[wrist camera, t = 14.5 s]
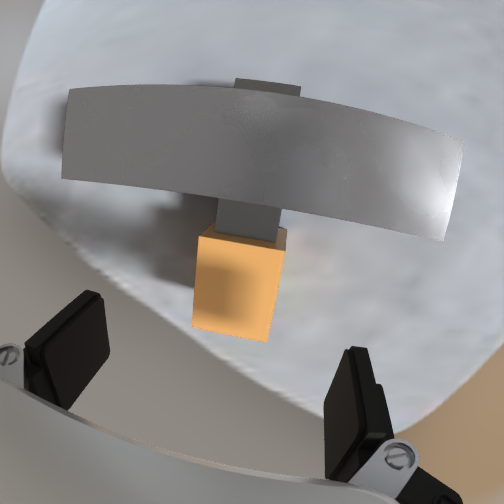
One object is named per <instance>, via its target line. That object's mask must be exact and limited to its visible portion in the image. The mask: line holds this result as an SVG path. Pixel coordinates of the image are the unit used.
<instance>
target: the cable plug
mask: <svg viewBox="0 0 504 504" xmlns="http://www.w3.org/2000/svg"><path fill="white" fill-rule="evenodd" d="M234 88H237V89H247V90H256V91H264V92H272V93H279V94H286V95H292V96H298V97H300V91H301V86H295V85H288V84H282V83H274V82H267V81H258V80H249V79H239V78H236V80H235V86H234ZM281 210H282V208H277V207H271V206H265V205H259V204H253V203H247V202H241V201H234V200H228V199H222V198H219V199H218V207H217V215H216V220H215V221H214V222H213V223H212V224H211V225H210V226H209V227H208V228H207V229H206V230H205V231H204V232H203V233H202V234H201V235H200V236H199V241H198V252H197V263H196V275H195V288H194V301H193V316H192V327H194V328H198V329H203V330H207V331H212V332H217V333H221V334H226V335H231V336H236V337H241V338H246V339H251V340H257V341H262V342H267V340H268V336H269V331H270V326H271V321H272V316H273V312H274V307H275V302H276V297H277V292H278V287H279V282H280V277H281V271H282V266H283V261H284V256H285V249H286V237H287V229H283V228H278V227H279V222H280V216H281Z"/></svg>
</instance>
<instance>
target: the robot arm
mask: <svg viewBox="0 0 504 504" xmlns="http://www.w3.org/2000/svg"><path fill="white" fill-rule="evenodd" d="M25 346H26V347H25V348H24V349H22V348H21V347H20V346H19V345H16V344H12V343H9V344H4V345H1V346H0V504H463V502H462V499H461V497H460V496H459V494H458V493H456V492H455V491H454V490H452V489H450V488H449V487H448V486H446V485H445V484H443V483H442V482H440V481H439V480H437V479H436V478H434V477H433V476H431V475H430V474H428V473H427V472H426V471H424V470H423V469H421V468H420V467H418V464H419V453H418V451H417V450H416V448H415V447H414V446H413V445H412V444H411V443H409V442H407V441H405V440H402V439H395V438H394V434H393V429H392V424H391V420H390V416H389V411H388V407H387V403H386V399H385V395H384V391H383V387H382V385H381V384H376V382H375V378H374V373H373V369H372V365H371V361H370V358H369V354H368V350H367V348H363V347H356V346H351V348H350V349H349V350H348V349H346V350H345V351H344V353H343V356H342V359H341V361H340V364H339V366H338V369H337V371H336V374H335V376H334V379H333V381H332V384H331V386H330V388H329V391H328V393H327V395H326V398H325V401H324V437H325V439H324V440H325V478H326V479H330V480H323V479H315V478H306V477H297V476H288V475H282V474H274V473H269V472H262V471H256V470H250V469H245V468H239V467H234V466H229V465H224V464H220V463H216V462H211V461H207V460H203V459H199V458H195V457H191V456H188V455H184V454H180V453H177V452H173V451H170V450H167V449H164V448H160V447H157V446H154V445H151V444H148V443H145V442H142V441H139V440H136V439H134V438H131V437H128V436H125V435H122V434H120V433H117V432H115V431H112V430H110V429H107V428H105V427H102V426H100V425H98V424H95V423H93V422H91V421H88V420H86V419H84V418H82V417H79V416H77V415H75V414H73V413H71V412H68V409H70V407H71V406H72V405H73V403H74V402H75V401H76V399H77V398H78V397H79V395H80V394H81V392H82V391H83V390H84V389H85V387H86V386H87V385H88V383H89V382H90V380H91V379H92V378H93V377H94V376H95V374H96V373H97V372H98V370H99V369H100V368H101V366H102V365H103V364H104V363H105V361H106V360H107V359H108V357H109V354H110V346H109V339H108V333H107V324H106V316H105V307H104V300H103V298H101V295H100V294H99V293H96V292H93V291H90V290H85V291H84V292H83V293H82V294H80V295H79V296H78V297H77V298H75V299H74V300H73V301H72V302H71V303H69V304H68V305H67V306H66V307H65V308H64V309H63V310H61V311H60V312H59V313H58V314H57V315H56V316H54V317H53V318H52V319H51V320H50V321H49V322H47V323H46V324H45V325H44V326H43V327H42V328H41V329H39V331H37V332H36V333H35V334H34V335H33V336H32V337H31V338H30V339H28V340H27V341H26V342H25Z"/></svg>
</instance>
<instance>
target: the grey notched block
mask: <svg viewBox="0 0 504 504" xmlns="http://www.w3.org/2000/svg"><path fill="white" fill-rule="evenodd" d="M463 147H464V141H461V140H459V139H456V138H453V137H451V136H448V135H445V134H442V133H440V132H437V131H434V130H431V129H428V128H425V127H422V126H419V125H416V124H412V123H409V122H406V121H403V120H399V119H396V118H392V117H389V116H385V115H381V114H378V113H374V112H370V111H366V110H362V109H358V108H354V107H349V106H345V105H340V104H336V103H331V102H326V101H321V100H315V99H310V98H304V97H298V96H292V95H286V94H279V93H272V92H264V91H256V90H247V89H237V88H226V87H212V86H195V85H117V86H100V87H87V88H76V89H70V90H69V96H68V103H67V111H66V120H65V129H64V141H63V155H62V176H61V179H70V180H80V181H90V182H100V183H109V184H118V185H126V186H135V187H143V188H151V189H158V190H166V191H173V192H181V193H188V194H195V195H202V196H208V197H215V198H222V199H228V200H234V201H241V202H247V203H253V204H259V205H265V206H271V207H277V208H282V209H288V210H293V211H299V212H304V213H310V214H315V215H320V216H326V217H331V218H336V219H341V220H346V221H351V222H356V223H361V224H366V225H370V226H375V227H380V228H385V229H389V230H394V231H398V232H403V233H407V234H412V235H416V236H420V237H425V238H429V239H433V240H437V241H442V242H443V240H444V237H445V233H446V229H447V225H448V222H449V218H450V214H451V209H452V205H453V201H454V196H455V192H456V187H457V182H458V177H459V171H460V166H461V160H462V154H463Z"/></svg>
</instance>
